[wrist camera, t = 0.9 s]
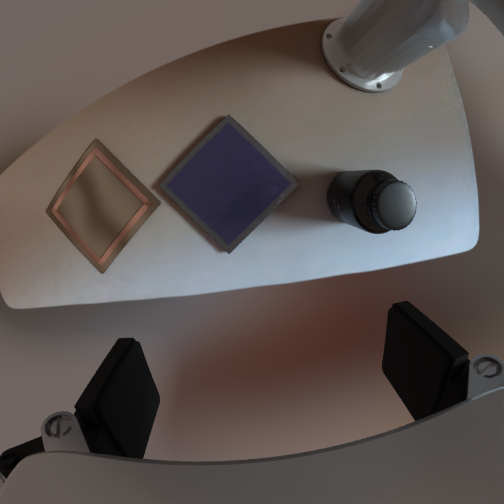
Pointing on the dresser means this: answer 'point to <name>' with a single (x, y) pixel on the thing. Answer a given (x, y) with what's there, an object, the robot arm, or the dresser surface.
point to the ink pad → (229, 184)
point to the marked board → (101, 206)
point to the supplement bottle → (371, 200)
